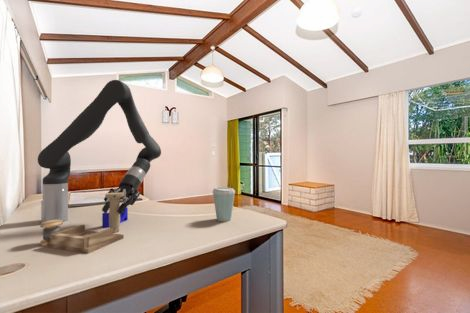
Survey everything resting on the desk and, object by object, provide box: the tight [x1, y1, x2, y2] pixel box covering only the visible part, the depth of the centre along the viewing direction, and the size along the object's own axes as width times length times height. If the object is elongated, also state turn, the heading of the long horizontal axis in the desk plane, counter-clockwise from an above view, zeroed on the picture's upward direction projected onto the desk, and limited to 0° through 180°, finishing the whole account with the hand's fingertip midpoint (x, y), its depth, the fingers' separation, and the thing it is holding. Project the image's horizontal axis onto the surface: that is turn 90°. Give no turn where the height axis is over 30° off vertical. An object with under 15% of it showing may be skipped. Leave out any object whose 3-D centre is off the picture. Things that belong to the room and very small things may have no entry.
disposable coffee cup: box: [212, 186, 236, 222], centre depth 109 cm, size 11×11×15 cm
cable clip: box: [101, 206, 129, 229], centre depth 103 cm, size 12×4×6 cm, turn 168°
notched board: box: [45, 224, 125, 254], centre depth 80 cm, size 18×14×4 cm
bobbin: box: [39, 220, 64, 247], centre depth 80 cm, size 6×6×7 cm
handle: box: [104, 192, 124, 233], centre depth 92 cm, size 5×6×15 cm
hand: (111, 212), depth 90 cm, fingers open, 7 cm apart
